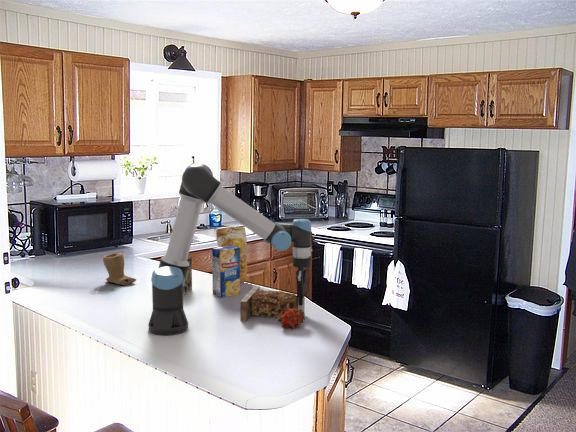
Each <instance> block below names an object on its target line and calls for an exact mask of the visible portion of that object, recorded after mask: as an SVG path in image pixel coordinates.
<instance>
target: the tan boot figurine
mask: <svg viewBox="0 0 576 432" xmlns="http://www.w3.org/2000/svg"><path fill="white" fill-rule="evenodd" d="M102 258H103V259H102V260H103V264H104V266H105V268H106V271H107V273H108V277H107V278H106V279H105V280H106V281H107V282H108V283H112V284H116V285H122V286H128V285H131V284H134V283H135V282H137V279H136V278H134V277H132V276H127V275H125V273H124V272H125V271H124V270H125V259H124V258H125V257H124V255H123V253H121V252H118V253H117V252H112V253H109V254H107V255H104V256H103V257H102Z"/></svg>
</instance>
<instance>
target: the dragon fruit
mask: <svg viewBox="0 0 576 432" xmlns="http://www.w3.org/2000/svg"><path fill="white" fill-rule="evenodd" d="M305 313H306V312H303V311H302V309H296V308H295V307H293V309H291V308H290V309H289V308H287V309H286V311H283V312H282V314H281V316H280V318H278V320H277V322H278V323H281V324H280V327H282V328H286V329H289V328H291V327H292V329H293V330H294V329H296V328H298V327H299V325H302V324H305V320H306V317H305V316H306V314H305Z"/></svg>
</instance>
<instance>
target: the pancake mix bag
mask: <svg viewBox="0 0 576 432" xmlns="http://www.w3.org/2000/svg"><path fill="white" fill-rule="evenodd" d="M215 234H216V236H215V237H216V242H217V247H224V246H231V245H232V246H236V247H239V248H240V283H244V282H246V281H247V280H248V242H247V235H246V234H247V233H246V227H245V226H244V225H239V226H233V227H232V226H228V227H221V228H217V230H216V231H215Z"/></svg>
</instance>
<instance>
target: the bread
mask: <svg viewBox="0 0 576 432" xmlns="http://www.w3.org/2000/svg"><path fill="white" fill-rule="evenodd" d="M296 296H297V294H295V293H290V292H286V291H283V290H264V289H263V290H262V289H260V290H258V291H257V292H255V293H254V294H253V295H252V300H251V311H252V314H251V316H253V317H257V316H258V317H263V318H264V317H265V318H272V319H279V318H280V316H281V314H282V312H283V311H286V309H287V308H289V309H290V308H291V309H293V307H295V308H296V309H298V297H296Z"/></svg>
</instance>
